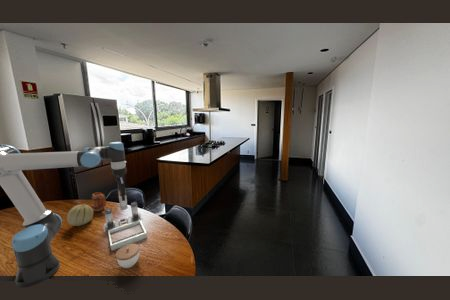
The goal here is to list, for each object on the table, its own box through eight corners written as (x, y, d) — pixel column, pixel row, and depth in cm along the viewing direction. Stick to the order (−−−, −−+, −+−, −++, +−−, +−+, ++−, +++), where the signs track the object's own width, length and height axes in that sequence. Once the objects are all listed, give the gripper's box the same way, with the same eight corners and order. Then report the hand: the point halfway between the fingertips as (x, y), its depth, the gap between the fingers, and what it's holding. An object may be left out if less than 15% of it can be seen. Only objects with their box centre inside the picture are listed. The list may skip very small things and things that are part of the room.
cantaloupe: (63, 228, 125) (59, 208, 123) (84, 217, 139) (81, 199, 137) (80, 231, 122) (76, 211, 119) (99, 219, 136) (96, 201, 133)
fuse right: (139, 218, 134) (137, 203, 132) (133, 220, 132) (131, 205, 130) (137, 216, 138) (136, 201, 135) (132, 218, 135) (130, 203, 133)
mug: (90, 210, 149) (88, 193, 146) (101, 206, 156) (98, 189, 154) (100, 214, 143) (98, 197, 140) (111, 210, 150) (109, 193, 147)
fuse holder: (143, 221, 134) (142, 216, 133) (104, 234, 120) (103, 228, 119) (140, 215, 141) (139, 210, 141) (103, 226, 127) (102, 221, 127)
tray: (147, 237, 116) (146, 232, 115) (111, 251, 104) (110, 245, 104) (140, 224, 130) (140, 220, 129) (108, 235, 118) (107, 230, 118)
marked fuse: (128, 208, 114) (126, 190, 112) (120, 210, 111) (118, 192, 109) (126, 206, 117) (124, 188, 115) (119, 208, 115) (117, 190, 112)
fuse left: (114, 226, 125) (111, 210, 123) (107, 228, 123) (104, 212, 120) (113, 223, 128) (111, 208, 126) (106, 225, 126) (104, 209, 124)
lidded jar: (143, 255, 101) (142, 240, 99) (135, 271, 90) (133, 255, 89) (124, 256, 101) (122, 241, 99) (113, 272, 90) (110, 256, 88)
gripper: (128, 169, 105) (132, 207, 109) (123, 163, 118) (127, 197, 122) (113, 172, 100) (118, 211, 105) (110, 165, 114) (114, 200, 118)
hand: (123, 203), depth 114 cm, fingers closed on marked fuse, 4 cm apart
